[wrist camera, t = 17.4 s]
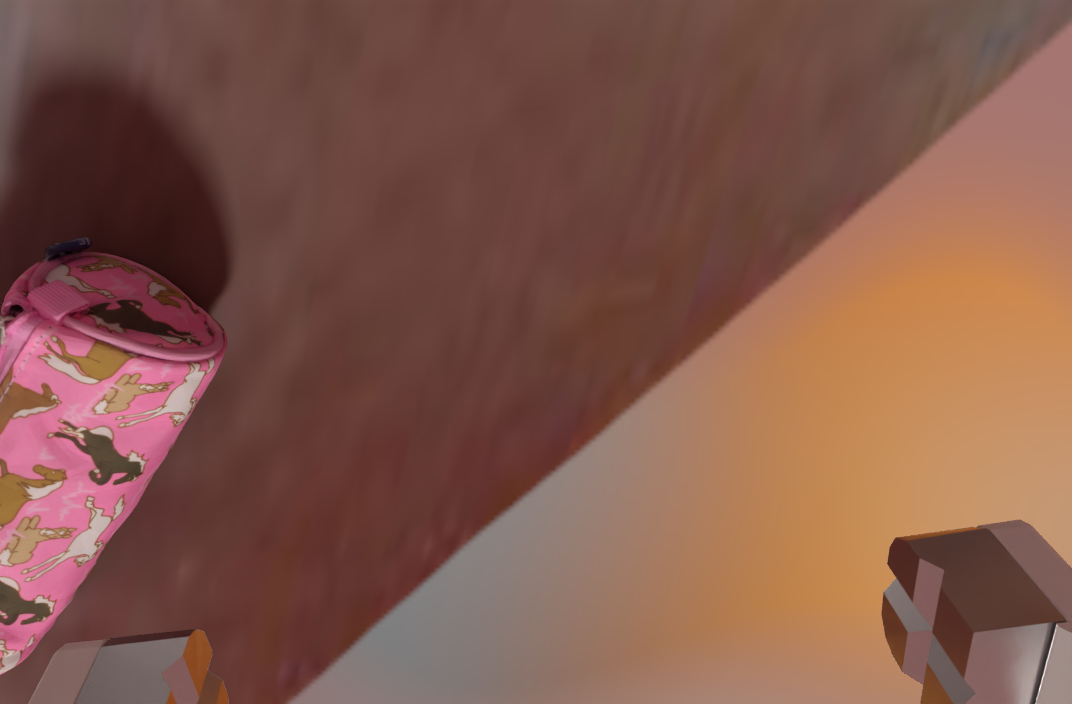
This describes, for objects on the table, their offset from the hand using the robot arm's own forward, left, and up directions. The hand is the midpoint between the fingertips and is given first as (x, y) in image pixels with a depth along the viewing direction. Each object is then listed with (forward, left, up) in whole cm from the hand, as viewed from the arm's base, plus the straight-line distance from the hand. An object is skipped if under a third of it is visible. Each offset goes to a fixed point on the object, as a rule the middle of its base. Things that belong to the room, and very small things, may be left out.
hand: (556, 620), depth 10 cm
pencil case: (+13, -22, -33) cm, 42 cm away
